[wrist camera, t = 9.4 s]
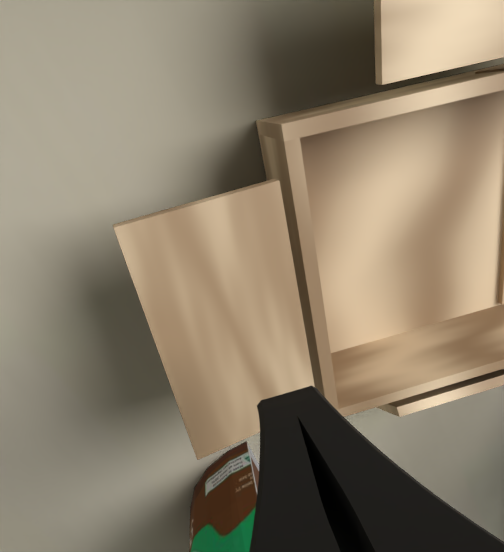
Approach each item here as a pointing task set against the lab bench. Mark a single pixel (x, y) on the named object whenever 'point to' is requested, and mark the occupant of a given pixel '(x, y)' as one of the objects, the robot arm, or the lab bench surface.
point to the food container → (225, 503)
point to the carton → (398, 239)
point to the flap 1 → (221, 307)
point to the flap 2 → (435, 36)
